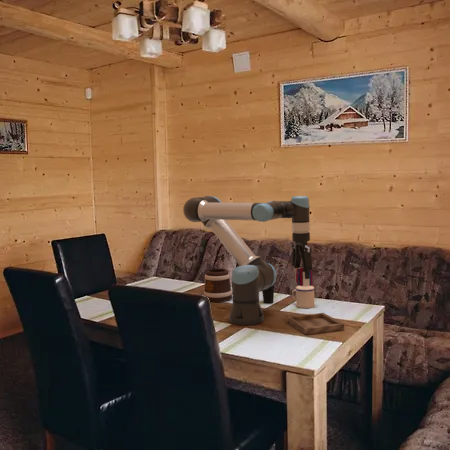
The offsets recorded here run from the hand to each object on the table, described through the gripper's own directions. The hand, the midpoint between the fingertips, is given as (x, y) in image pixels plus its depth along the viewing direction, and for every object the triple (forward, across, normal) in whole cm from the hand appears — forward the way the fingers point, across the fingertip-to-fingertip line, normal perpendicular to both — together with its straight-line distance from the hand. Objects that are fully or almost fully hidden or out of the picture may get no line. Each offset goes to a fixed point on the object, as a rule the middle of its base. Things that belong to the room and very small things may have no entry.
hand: (302, 284), depth 217 cm
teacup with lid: (+15, +19, -10) cm, 27 cm away
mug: (+15, +52, +24) cm, 59 cm away
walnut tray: (+15, -12, +1) cm, 20 cm away
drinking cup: (+15, +32, +2) cm, 35 cm away
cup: (0, -1, 0) cm, 1 cm away
